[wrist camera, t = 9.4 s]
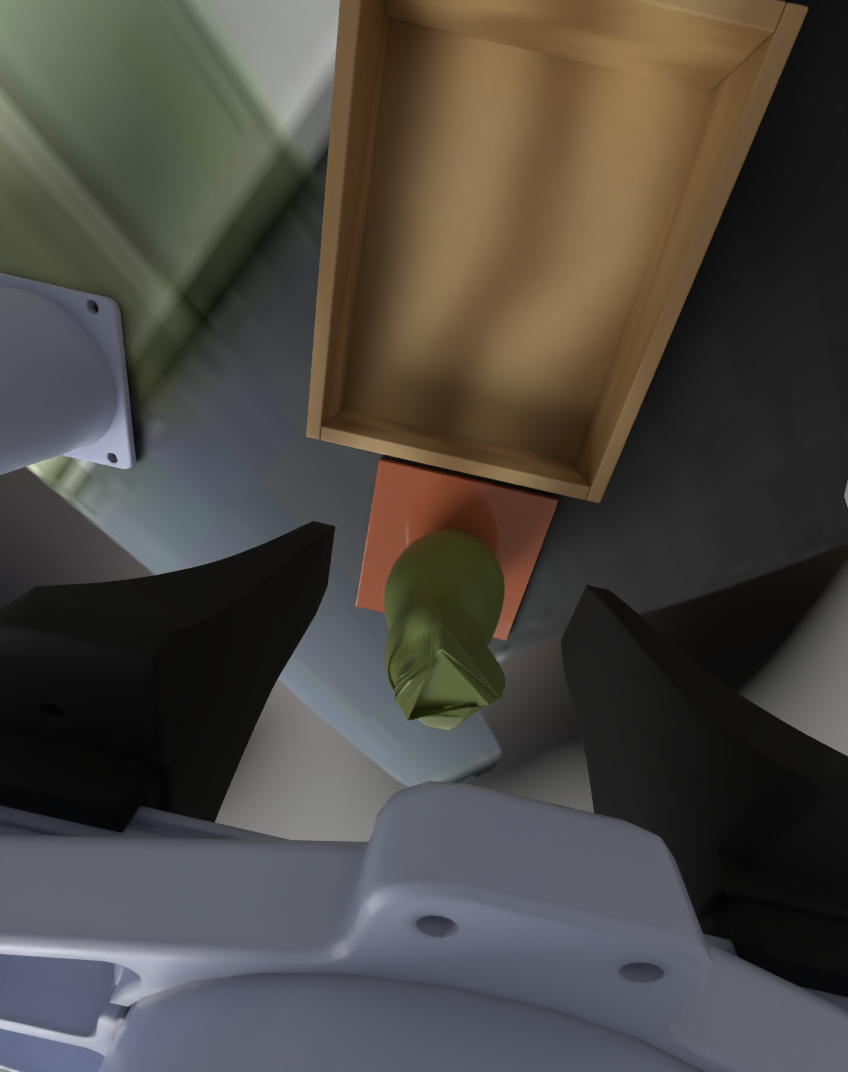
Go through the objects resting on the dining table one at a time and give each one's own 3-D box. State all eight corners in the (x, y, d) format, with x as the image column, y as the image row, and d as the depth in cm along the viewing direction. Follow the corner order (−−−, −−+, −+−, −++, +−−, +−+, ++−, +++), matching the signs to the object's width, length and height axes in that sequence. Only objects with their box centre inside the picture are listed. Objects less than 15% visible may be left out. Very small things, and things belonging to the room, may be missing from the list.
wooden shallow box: (332, 417, 21) (305, 437, 18) (376, -5, 15) (347, -102, 11) (579, 474, 21) (600, 504, 18) (732, 77, 15) (811, 5, 11)
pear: (379, 547, 24) (322, 688, 15) (458, 491, 22) (448, 612, 13) (443, 616, 25) (427, 781, 16) (521, 570, 23) (553, 727, 14)
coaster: (357, 602, 26) (355, 606, 25) (380, 457, 22) (379, 459, 21) (505, 636, 26) (506, 640, 25) (557, 497, 22) (558, 500, 21)
